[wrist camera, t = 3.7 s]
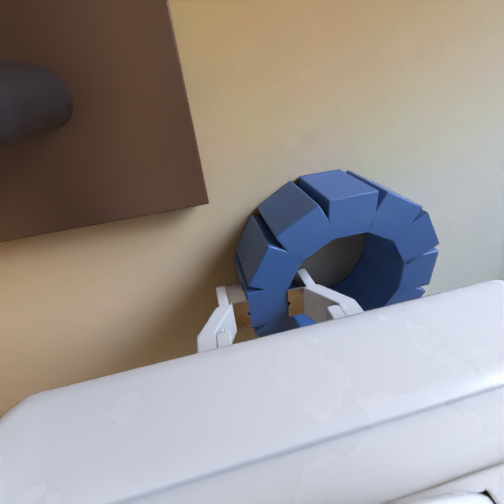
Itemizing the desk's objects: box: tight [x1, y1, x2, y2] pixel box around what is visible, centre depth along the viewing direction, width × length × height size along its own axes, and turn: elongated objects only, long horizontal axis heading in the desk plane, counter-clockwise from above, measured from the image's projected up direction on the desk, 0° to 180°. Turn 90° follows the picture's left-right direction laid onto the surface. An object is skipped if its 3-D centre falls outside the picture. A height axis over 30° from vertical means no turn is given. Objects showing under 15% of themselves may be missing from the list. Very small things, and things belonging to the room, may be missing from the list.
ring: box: [235, 169, 439, 337], centre depth 16 cm, size 10×10×4 cm
